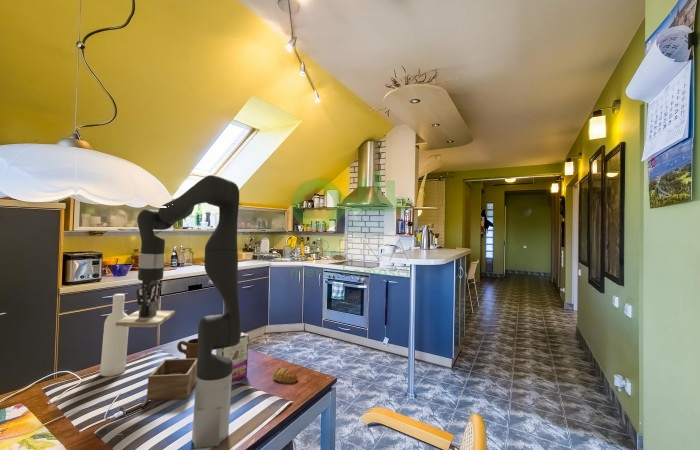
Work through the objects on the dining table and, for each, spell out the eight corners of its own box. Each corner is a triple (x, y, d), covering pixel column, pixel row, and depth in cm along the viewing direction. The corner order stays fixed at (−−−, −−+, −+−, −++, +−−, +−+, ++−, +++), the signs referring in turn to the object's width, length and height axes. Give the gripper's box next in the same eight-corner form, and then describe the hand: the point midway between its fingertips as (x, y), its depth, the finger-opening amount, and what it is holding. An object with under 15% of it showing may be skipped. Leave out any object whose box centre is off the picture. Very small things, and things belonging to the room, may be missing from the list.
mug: (170, 366, 126) (172, 343, 126) (181, 358, 134) (182, 337, 134) (199, 367, 126) (201, 344, 126) (208, 360, 133) (209, 338, 134)
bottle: (119, 376, 115) (125, 296, 116) (95, 377, 114) (101, 296, 115) (129, 367, 123) (135, 292, 124) (107, 368, 121) (113, 292, 123)
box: (186, 399, 102) (188, 374, 102) (146, 401, 99) (148, 376, 100) (197, 379, 116) (199, 358, 116) (162, 381, 113) (164, 359, 113)
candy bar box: (239, 372, 123) (242, 331, 124) (247, 376, 120) (249, 334, 121) (213, 382, 114) (216, 338, 115) (220, 386, 111) (223, 341, 112)
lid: (157, 328, 101) (159, 307, 101) (115, 328, 99) (117, 306, 99) (174, 316, 116) (175, 297, 116) (137, 315, 113) (139, 296, 113)
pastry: (300, 378, 121) (300, 368, 122) (292, 386, 115) (292, 375, 115) (279, 373, 124) (280, 364, 124) (270, 381, 118) (271, 371, 118)
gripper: (154, 269, 101) (149, 320, 101) (171, 264, 115) (167, 309, 115) (129, 268, 100) (124, 320, 100) (149, 263, 114) (145, 309, 114)
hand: (147, 314), depth 107 cm, fingers closed on lid, 4 cm apart
